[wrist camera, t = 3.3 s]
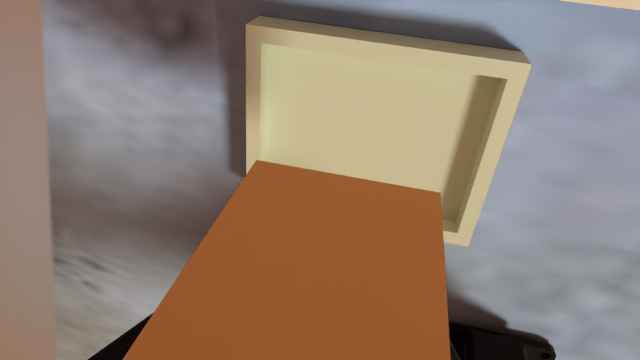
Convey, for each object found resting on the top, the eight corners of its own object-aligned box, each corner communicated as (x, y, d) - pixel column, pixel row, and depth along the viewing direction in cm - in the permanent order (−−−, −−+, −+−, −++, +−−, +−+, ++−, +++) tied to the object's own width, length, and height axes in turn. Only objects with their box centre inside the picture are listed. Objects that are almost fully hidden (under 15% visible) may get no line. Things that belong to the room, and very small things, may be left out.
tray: (465, 224, 20) (468, 246, 19) (257, 185, 21) (246, 203, 20) (523, 51, 16) (532, 64, 15) (259, 15, 17) (245, 24, 16)
